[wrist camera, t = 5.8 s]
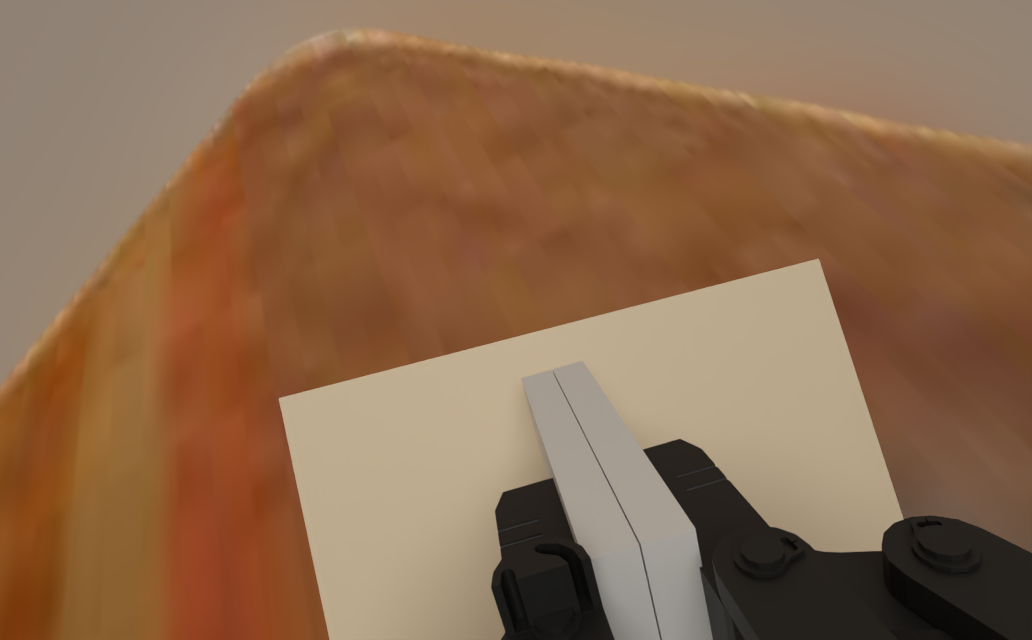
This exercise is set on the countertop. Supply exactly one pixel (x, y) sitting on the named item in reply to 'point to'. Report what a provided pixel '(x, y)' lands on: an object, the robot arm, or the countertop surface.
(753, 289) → the flap
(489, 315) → the countertop surface
